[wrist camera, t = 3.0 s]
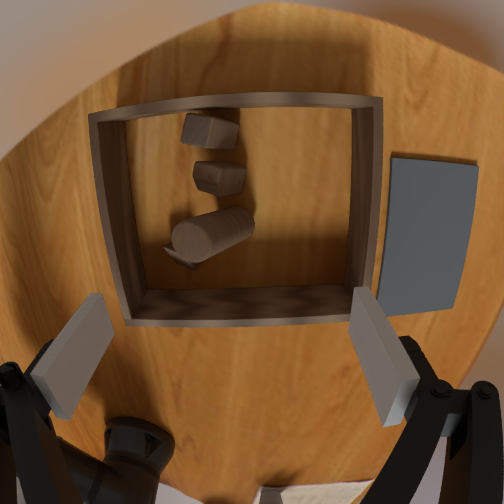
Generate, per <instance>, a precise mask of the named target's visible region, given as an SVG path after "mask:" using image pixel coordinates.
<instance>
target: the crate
mask: <svg viewBox="0 0 504 504" xmlns="http://www.w3.org/2000/svg"><path fill="white" fill-rule="evenodd" d="M250 107H328V108H348V109H352V166H351V197H350V217H349V233H348V246H347V259H346V270H345V280H344V284H329V285H309V286H287V287H261V288H228V289H176V290H148V288H147V283H146V278H145V273H144V268H143V263H142V257H141V252H140V246H139V240H138V234H137V228H136V222H135V215H134V209H133V202H132V194H131V186H130V178H129V170H128V160H127V150H126V139H125V127H124V121H125V120H131V119H137V118H144V117H151V116H158V115H166V114H174V113H182V112H192V111H203V110H215V109H230V108H250ZM88 121H89V134H90V145H91V154H92V163H93V171H94V179H95V186H96V193H97V199H98V206H99V212H100V217H101V223H102V228H103V234H104V239H105V244H106V248H107V253H108V258H109V262H110V267H111V271H112V275H113V279H114V283H115V287H116V291H117V295H118V299H119V303H120V306H121V310H122V314H123V317H124V321H125V324H126V326H144V327H252V326H279V325H300V324H316V323H331V322H344V321H350V315H351V308H352V301H353V293H354V287H367V286H368V287H369V288H370V290H371V284H372V277H373V270H374V262H375V254H376V245H377V236H378V225H379V214H380V201H381V185H382V164H383V97H374V96H364V95H352V94H337V93H316V92H255V93H233V94H218V95H206V96H195V97H186V98H177V99H170V100H162V101H155V102H149V103H142V104H136V105H131V106H125V107H120V108H115V109H110V110H105V111H100V112H95V113H91V114H88Z"/></svg>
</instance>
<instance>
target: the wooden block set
mask: <svg viewBox="0 0 504 504" xmlns="http://www.w3.org/2000/svg"><path fill="white" fill-rule="evenodd" d="M238 131H239V124H238V123H236V122H232V121H229V120H225V119H221V118H218V117H214V116H209V115H202V114H196V113H187V114H186V118H185V122H184V127H183V132H182V136H181V142H182V143H183V144H188V145H193V146H198V147H202V148H211V149H222V150H234V148H235V144H236V139H237V135H238ZM246 171H247V168H246V167H245V166H241V165H237V164H233V163H229V162H225V161H196V162H195V165H194V170H193V178H194V181H195V184H196V186H197V189H198V190H200V191H203V192H207V193H210V194H213V195H217V196H220V197H223V196H229V195H234V194H240V193H241V192H242V189H243V184H244V180H245V175H246ZM254 229H255V222H254V218H253V217H252V215H251V213H249V212H248V211H247V210H246V209H244V208H242V207H237V206H234V207H229V208H225V209H221V210H218V211H214V212H210V213H207V214H203V215H199V216H196V217H192V218H188V219H185V220H182V221H180V222H179V223H177V224H176V226H175V227H174V228H173V231H172V234H171V241H172V243H170V244H168V245H165V246H163V248H164V249H165V250H166V251H167V252H168V254H169V255H170V256H171V257H172V258H173V259H174V260H175V262H177V263H179V264H181V265H184V266H186V267H188V268H191V269H193V270H196V267H197V262H202V261H204V260H206V259H208V258H210V257H212V256H213V255H215V254H217V253H219V252H221V251H223V250H225V249H227V248H229V247H231V246H233V245H235V244H237V243H239V242H241V241H243V240H245V239H246V238H248V237H250V236H251V235H252V234H253V231H254Z"/></svg>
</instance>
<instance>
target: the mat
mask: <svg viewBox="0 0 504 504" xmlns="http://www.w3.org/2000/svg"><path fill="white" fill-rule="evenodd" d="M478 171H479V166H475V165H468V164H460V163H451V162H442V161H431V160H420V159H408V158H393V157H391V158H390V180H389V195H388V208H387V219H386V230H385V239H384V247H383V255H382V263H381V270H380V277H379V284H378V290H377V296H376V300H377V302H378V303H379V305H380V307H381V308H382V310H383V312H384V313H385V315H386V316H396V315H405V314H413V313H421V312H429V311H437V310H444V309H451V308H453V305H454V301H455V298H456V294H457V291H458V287H459V283H460V279H461V275H462V271H463V266H464V262H465V257H466V253H467V248H468V243H469V238H470V232H471V226H472V220H473V214H474V207H475V199H476V191H477V182H478Z"/></svg>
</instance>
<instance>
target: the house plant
mask: <svg viewBox="0 0 504 504" xmlns="http://www.w3.org/2000/svg"><path fill="white" fill-rule="evenodd" d="M259 504H283V502H282V498H281V494H280V492H279V491H276V490H268V491H263V492H262V493H261V496H260V502H259Z"/></svg>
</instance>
